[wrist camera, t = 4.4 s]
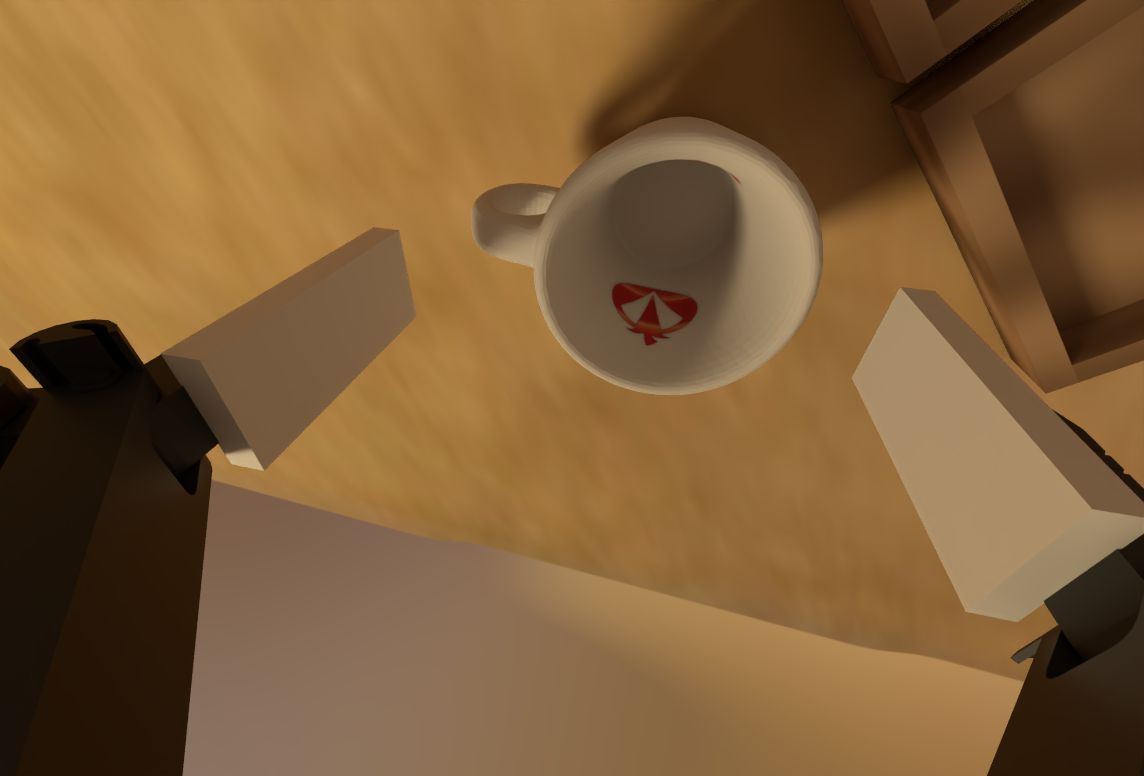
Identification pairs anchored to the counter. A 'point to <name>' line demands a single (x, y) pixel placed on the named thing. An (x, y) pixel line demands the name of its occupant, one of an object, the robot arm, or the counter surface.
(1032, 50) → the tray
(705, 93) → the counter surface
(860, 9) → the tray
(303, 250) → the counter surface
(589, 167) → the cup
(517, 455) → the counter surface
